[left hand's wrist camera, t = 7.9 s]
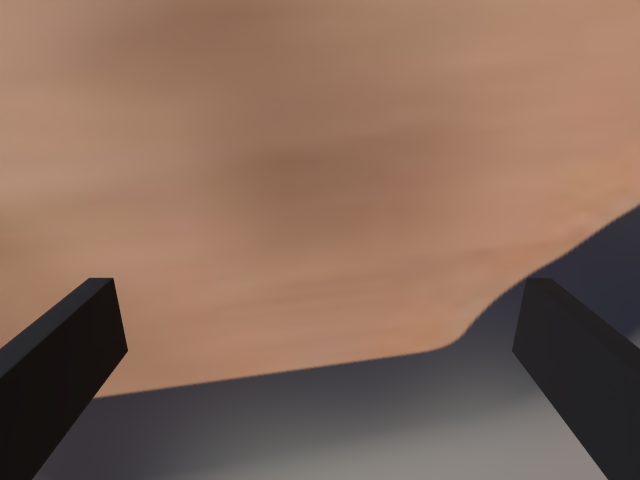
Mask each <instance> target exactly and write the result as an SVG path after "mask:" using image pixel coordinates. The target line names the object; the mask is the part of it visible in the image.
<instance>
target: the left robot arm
mask: <svg viewBox="0 0 640 480" xmlns="http://www.w3.org/2000/svg"><path fill="white" fill-rule="evenodd" d="M127 352H128V349H127V344H126V339H125V334H124V329H123V324H122V319H121V314H120V309H119V304H118V299H117V294H116V289H115V284H114V279H113V278H89V279H87V280H86V281H85V282H84V283H82V284H81V285H80V286H79V287H77V288H76V289H75V290H74V291H72V292H71V293H70V294H68V295H67V296H66V297H65V298H63V299H62V300H61V301H60V302H58V303H57V304H56V305H55V306H53V307H52V308H51V309H50V310H48V311H47V312H46V313H45V314H43V315H42V316H41V317H40V318H38V319H37V320H36V321H35V322H33V323H32V324H31V325H30V326H28V327H27V328H26V329H25V330H23V331H22V332H21V333H20V334H18V335H17V336H16V337H15V338H13V339H12V340H11V341H10V342H8V343H7V344H6V345H5V346H3V347H2V348H1V349H0V480H32V479H33V477H34V476H35V475H36V473H37V472H38V471H39V469H40V468H41V467H42V465H43V464H44V463H45V461H46V460H47V459H48V457H49V456H50V455H51V453H52V452H53V451H54V449H55V448H56V447H57V445H58V444H59V443H60V441H61V440H62V439H63V437H64V436H65V435H66V433H67V432H68V431H69V429H70V428H71V426H72V425H73V424H74V423H75V421H76V420H77V418H78V417H79V416H80V414H81V413H82V412H83V410H84V409H85V408H86V406H87V405H88V404H89V402H90V401H91V400H92V398H93V397H94V396H95V394H96V393H97V392H98V390H99V389H100V388H101V386H102V385H103V384H104V382H105V381H106V380H107V378H108V377H109V376H110V374H111V373H112V372H113V370H114V369H115V368H116V366H117V365H118V364H119V362H120V361H121V360H122V358H123V357H124V356H125V354H126V353H127ZM512 352H513V353H514V354H515V356H516V357H517V358H518V360H519V361H520V362H521V364H522V365H523V366H524V368H525V369H526V370H527V372H528V373H529V374H530V375H531V377H532V378H533V380H534V381H535V382H536V384H537V385H538V386H539V388H540V389H541V390H542V392H543V393H544V394H545V396H546V397H547V398H548V400H549V401H550V402H551V404H552V405H553V406H554V408H555V409H556V410H557V412H558V413H559V414H560V416H561V417H562V419H563V420H564V421H565V423H566V424H567V425H568V427H569V428H570V429H571V431H572V432H573V433H574V435H575V436H576V437H577V439H578V440H579V441H580V443H581V444H582V445H583V447H584V448H585V449H586V451H587V452H588V453H589V455H590V456H591V457H592V459H593V460H594V461H595V463H596V464H597V465H598V467H599V468H600V469H601V471H602V472H603V473H604V475H605V476H606V477H607V479H608V480H640V349H639V348H638V347H637V346H635V345H634V344H633V343H632V342H630V341H629V340H628V339H627V338H625V337H624V336H623V335H622V334H620V333H619V332H618V331H617V330H615V329H614V328H613V327H612V326H610V325H609V324H608V323H607V322H605V321H604V320H603V319H602V318H600V317H599V316H598V315H597V314H595V313H594V312H593V311H592V310H590V309H589V308H588V307H587V306H585V305H584V304H583V303H582V302H580V301H579V300H578V299H576V298H575V297H574V296H573V295H571V294H570V293H569V292H568V291H566V290H565V289H564V288H563V287H561V286H560V285H559V284H558V283H556V282H555V281H554V280H553V279H551V278H527V279H526V284H525V289H524V294H523V299H522V304H521V309H520V314H519V319H518V324H517V329H516V334H515V339H514V344H513V349H512Z"/></svg>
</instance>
